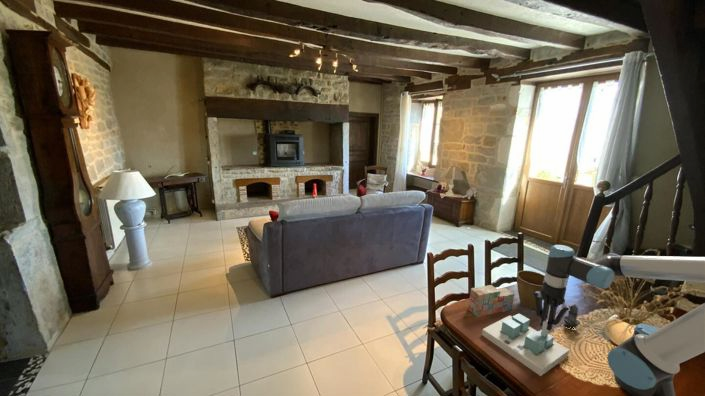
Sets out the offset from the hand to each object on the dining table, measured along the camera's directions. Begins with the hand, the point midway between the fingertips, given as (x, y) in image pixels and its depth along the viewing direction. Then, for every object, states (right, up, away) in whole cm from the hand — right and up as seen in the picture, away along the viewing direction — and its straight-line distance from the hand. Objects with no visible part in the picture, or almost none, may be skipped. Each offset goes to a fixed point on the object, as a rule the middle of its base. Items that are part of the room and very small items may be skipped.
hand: (544, 334), depth 119 cm
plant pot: (+12, 0, +31) cm, 33 cm away
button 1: (-11, -2, +6) cm, 13 cm away
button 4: (0, -5, +1) cm, 5 cm away
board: (-7, -6, +3) cm, 10 cm away
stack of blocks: (-10, 0, +27) cm, 29 cm away
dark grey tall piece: (+22, -4, +15) cm, 27 cm away
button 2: (-5, -1, +9) cm, 11 cm away
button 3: (-6, -4, -3) cm, 8 cm away
